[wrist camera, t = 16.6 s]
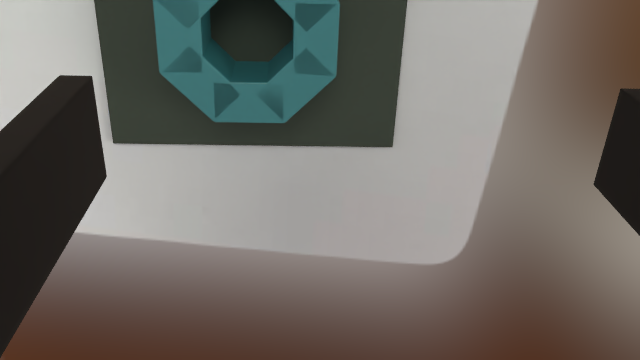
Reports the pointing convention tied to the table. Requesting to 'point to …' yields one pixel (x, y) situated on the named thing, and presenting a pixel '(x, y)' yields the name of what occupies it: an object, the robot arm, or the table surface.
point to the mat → (261, 46)
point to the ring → (247, 76)
